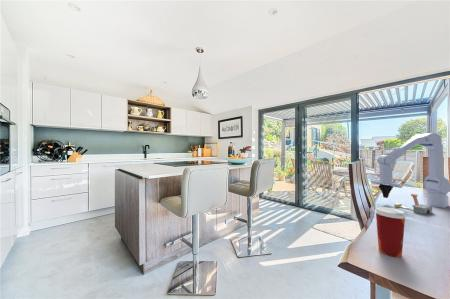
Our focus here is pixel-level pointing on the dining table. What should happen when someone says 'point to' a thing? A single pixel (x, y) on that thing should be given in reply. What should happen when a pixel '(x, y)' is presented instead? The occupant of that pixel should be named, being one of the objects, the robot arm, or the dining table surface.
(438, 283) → the dining table surface
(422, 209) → the hitch block
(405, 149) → the robot arm
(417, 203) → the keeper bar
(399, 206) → the zinc pin
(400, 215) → the paper cup
